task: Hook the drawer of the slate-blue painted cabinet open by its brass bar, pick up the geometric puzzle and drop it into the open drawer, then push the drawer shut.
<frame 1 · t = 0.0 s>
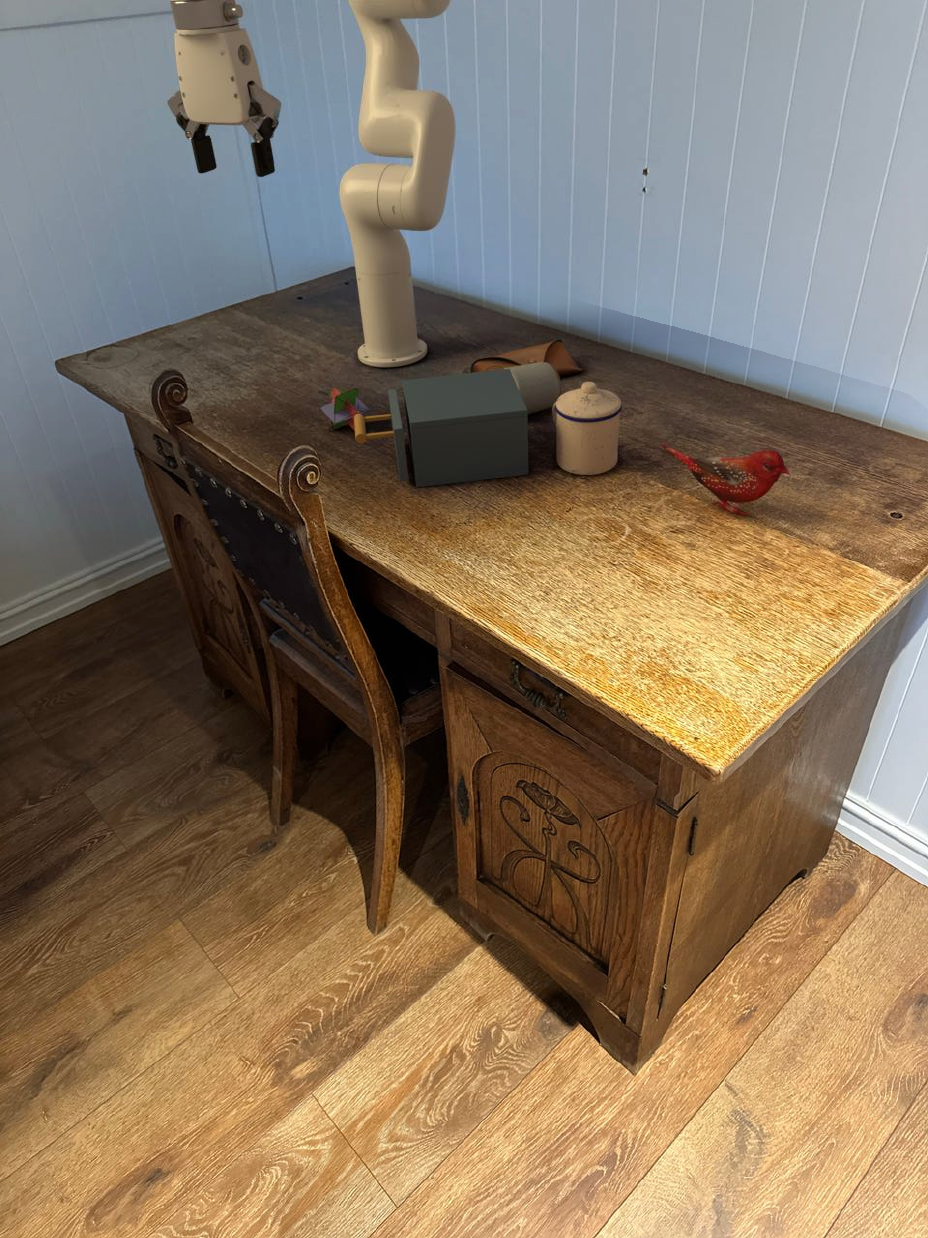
hand: (236, 172, 118), 37 cm above the table, tool pointing down, fingers open, 9 cm apart
geometric puzzle: (347, 429, 141), on the table
cabinet: (466, 457, 131), on the table
ceramic mug: (523, 409, 143), on the table
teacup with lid: (580, 458, 129), on the table
drawer: (426, 430, 128), point 5 cm above the table, slide at 1.0 cm
sunglasses case: (528, 377, 153), on the table
decorative bird figurine: (715, 508, 117), on the table
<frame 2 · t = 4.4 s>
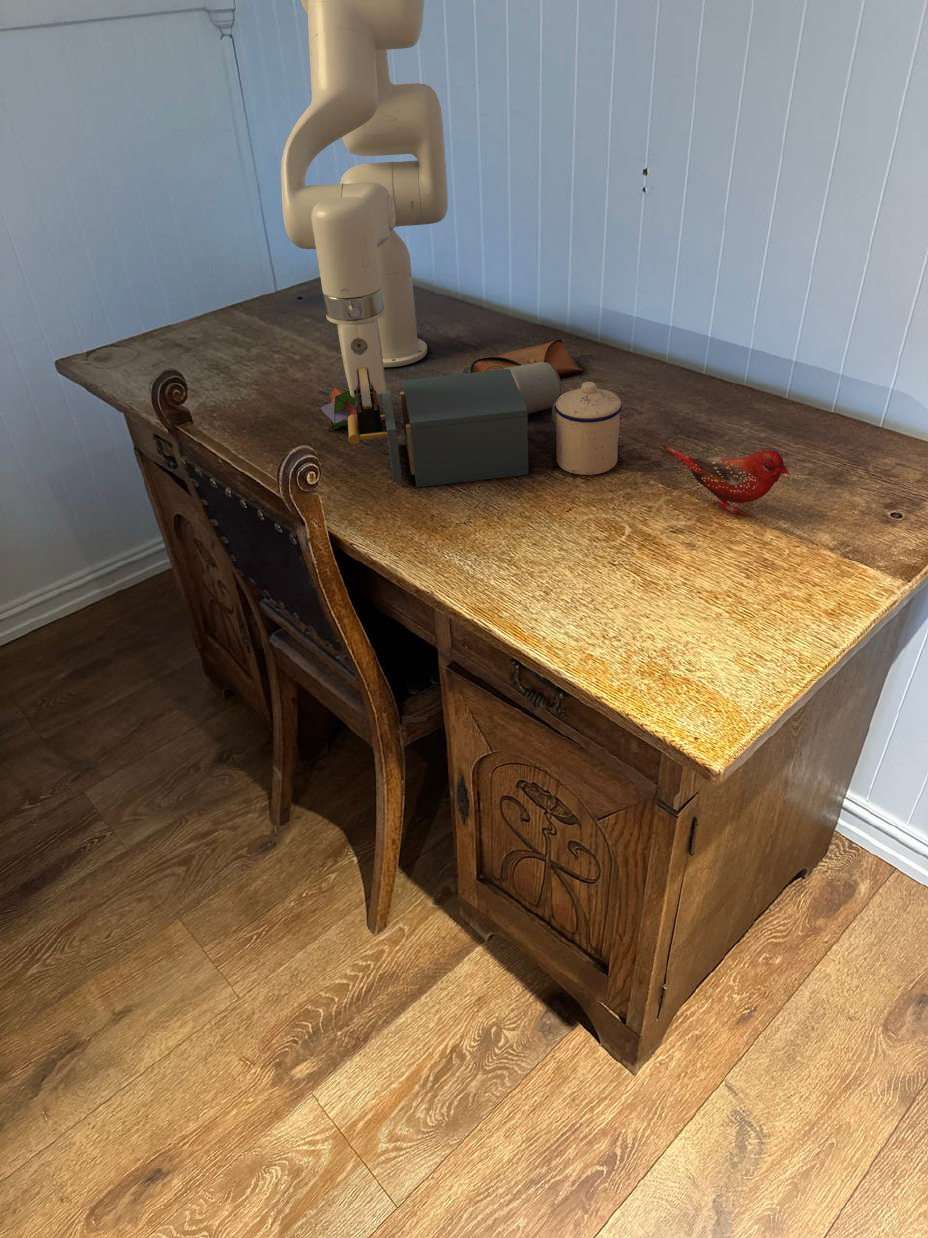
hand: (371, 433, 127), 5 cm above the table, tool pointing down, fingers closed
drawer: (419, 431, 128), point 5 cm above the table, slide at 1.9 cm
everything else where it was.
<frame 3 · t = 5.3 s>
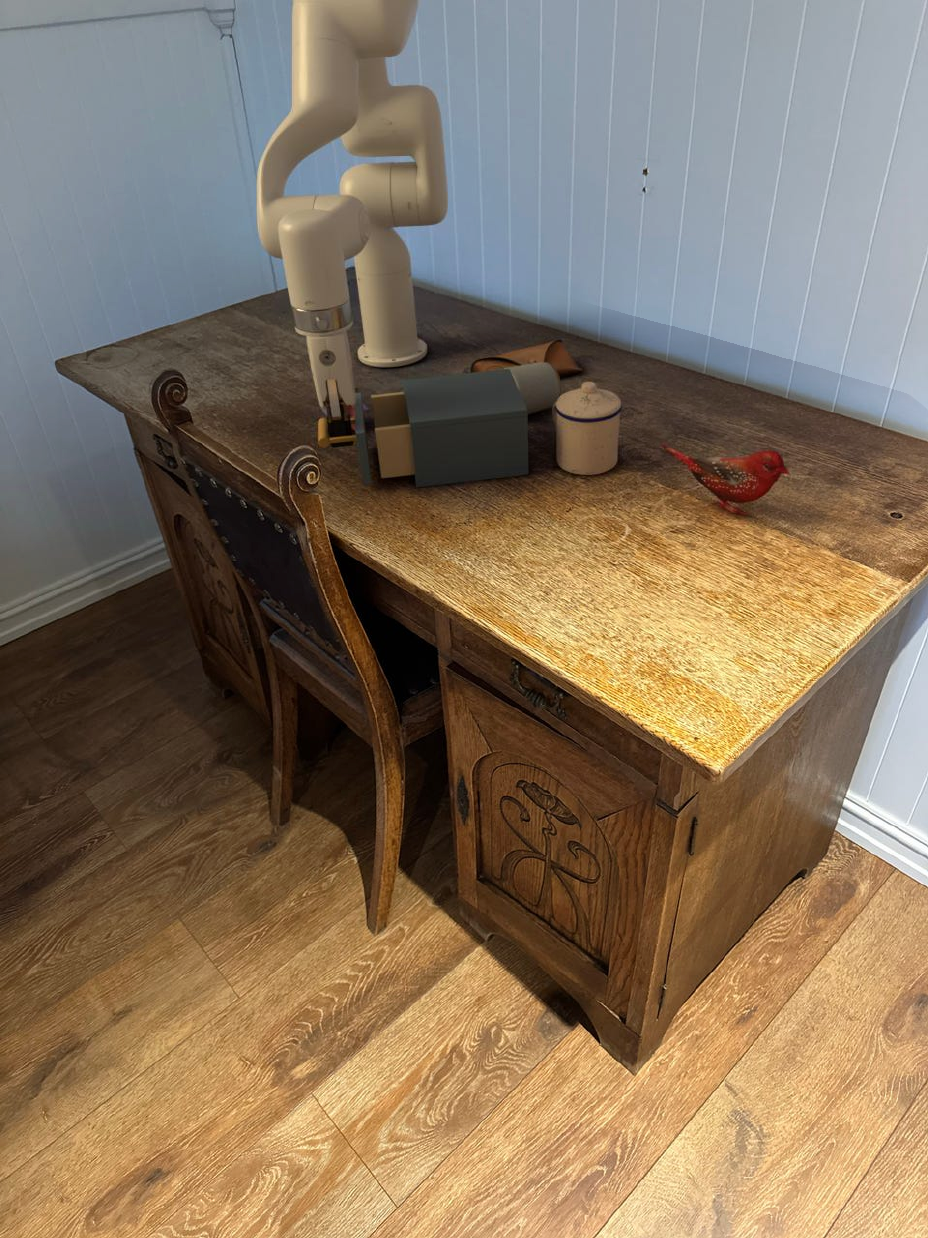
hand: (342, 443, 127), 4 cm above the table, tool pointing down, fingers closed
drawer: (390, 434, 128), point 5 cm above the table, slide at 6.1 cm, touching gripper
everything else where it was.
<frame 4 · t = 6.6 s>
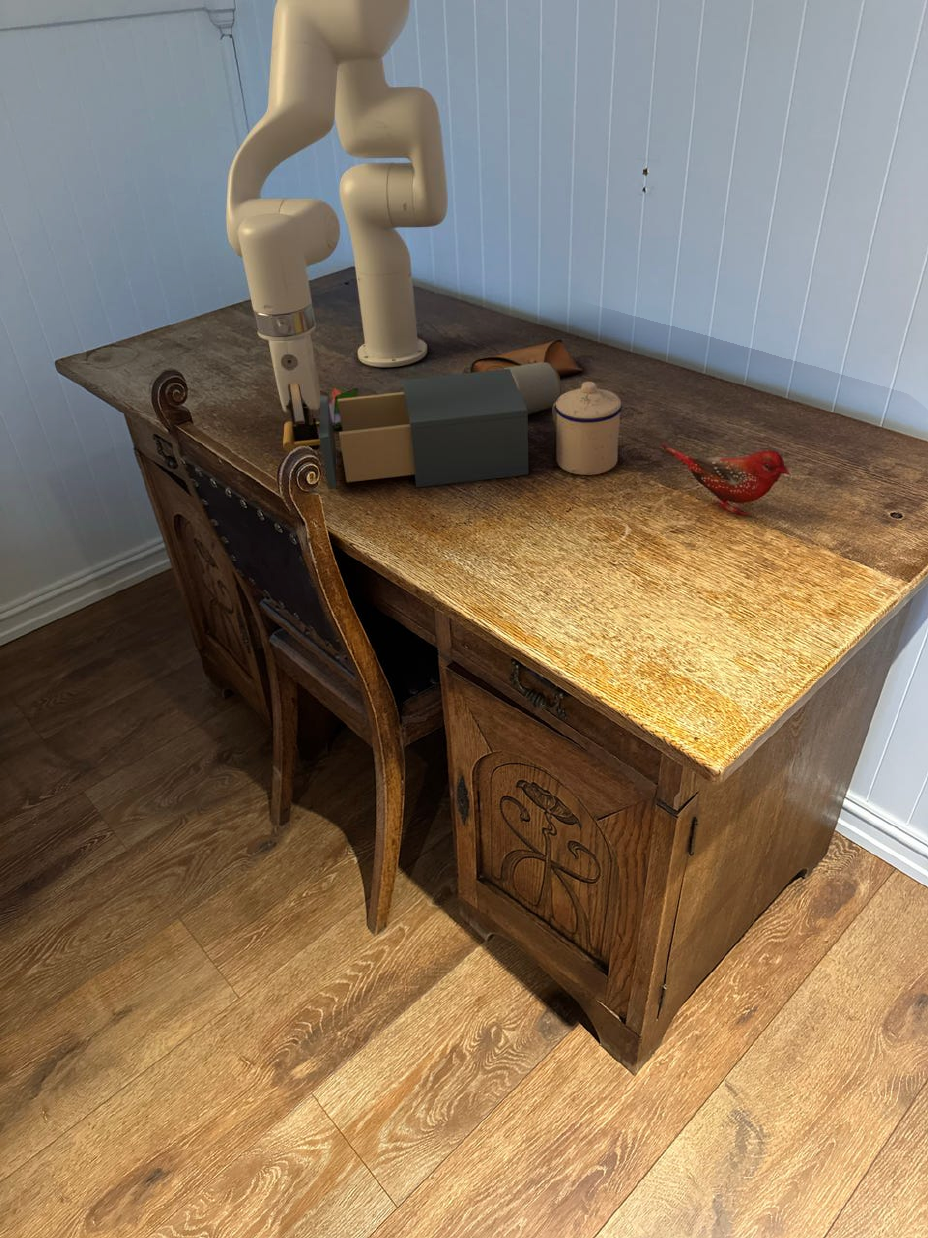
hand: (308, 447, 127), 4 cm above the table, tool pointing down, fingers closed
drawer: (356, 438, 127), point 5 cm above the table, slide at 10.9 cm
everything else where it was.
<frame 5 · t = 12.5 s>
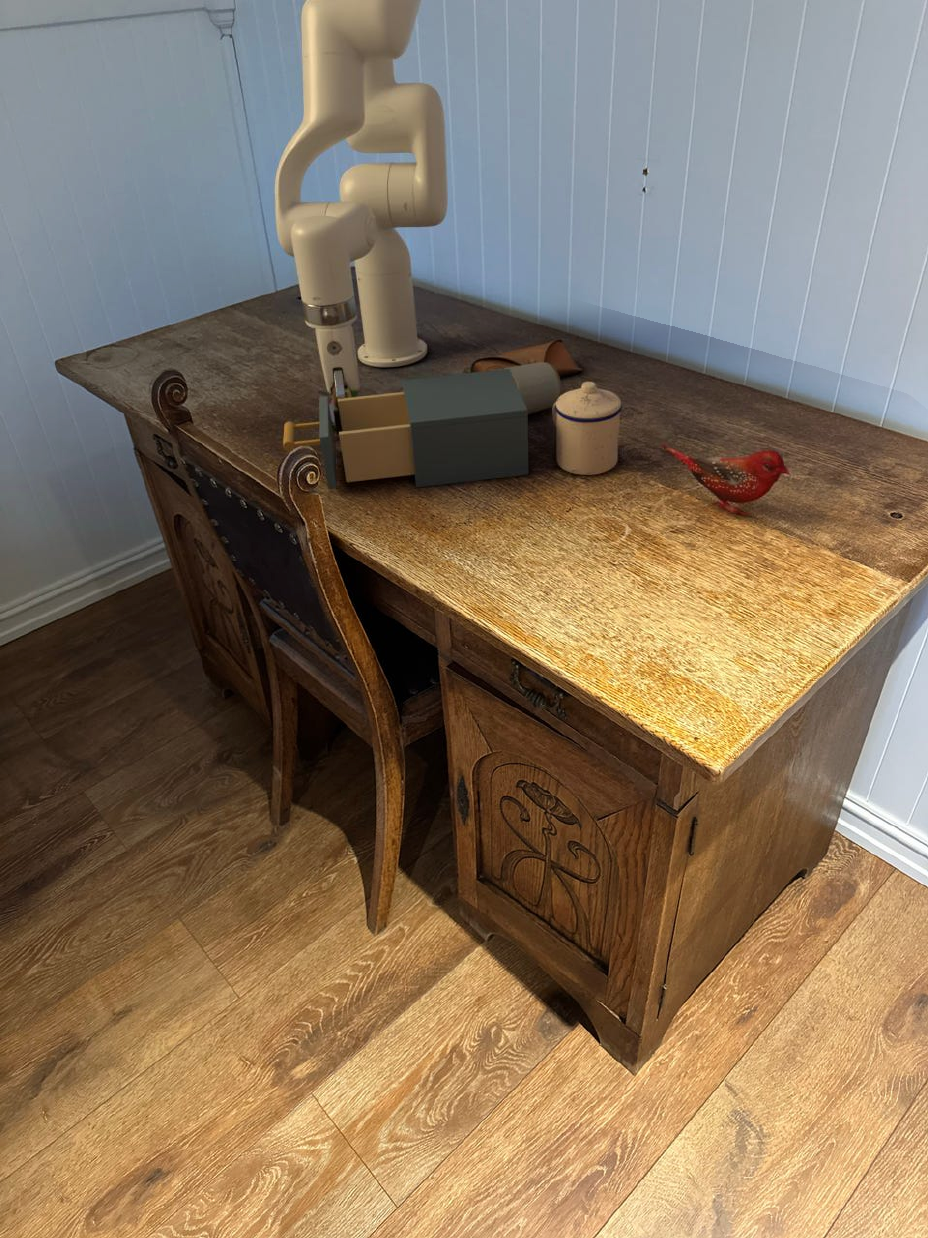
hand: (347, 421, 141), 1 cm above the table, tool pointing down, fingers closed on geometric puzzle, 7 cm apart
geometric puzzle: (347, 429, 141), on the table, touching gripper
everything else where it was.
when the fingers open (9 cm above the table, at t = 19.3 s): geometric puzzle drops 6 cm, resting on drawer.
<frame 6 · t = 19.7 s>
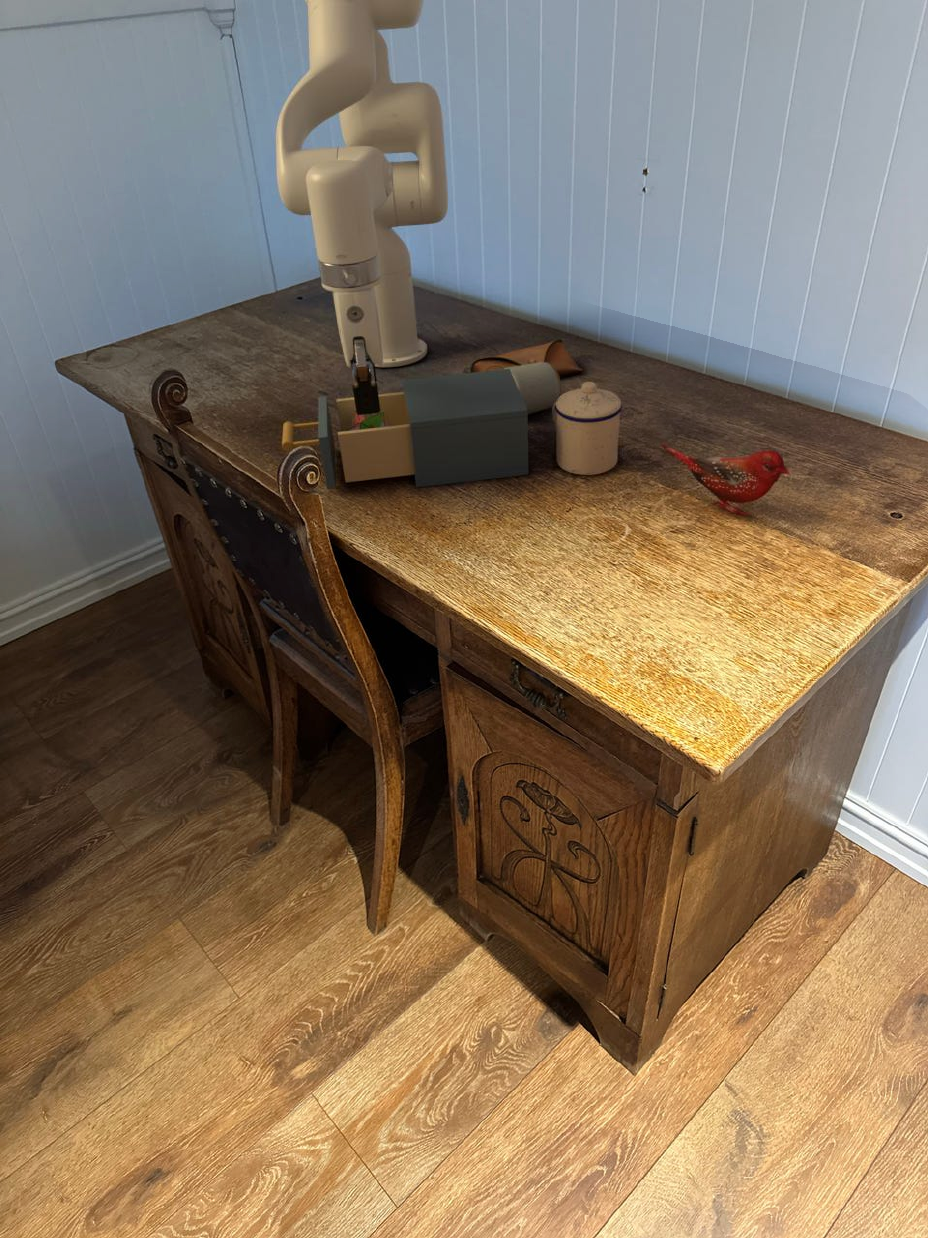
hand: (366, 397, 124), 11 cm above the table, tool pointing down, fingers open, 9 cm apart
geometric puzzle: (372, 456, 129), point 2 cm above the table, touching drawer
drawer: (355, 438, 127), point 5 cm above the table, slide at 11.1 cm, touching geometric puzzle
everything else where it was.
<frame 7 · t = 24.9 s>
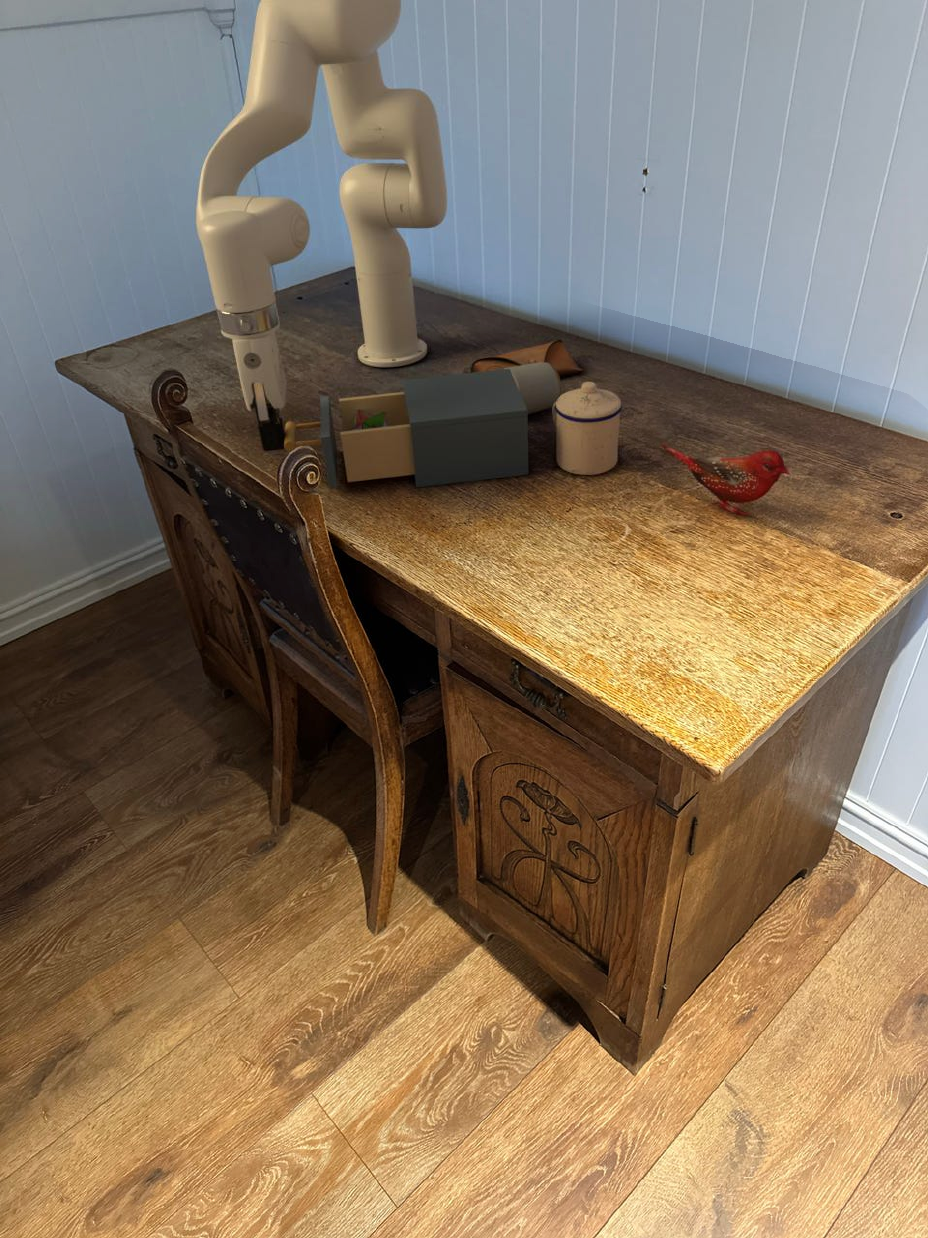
hand: (275, 447, 126), 5 cm above the table, tool pointing down, fingers closed
drawer: (357, 438, 127), point 5 cm above the table, slide at 10.8 cm, touching geometric puzzle, gripper
everything else where it was.
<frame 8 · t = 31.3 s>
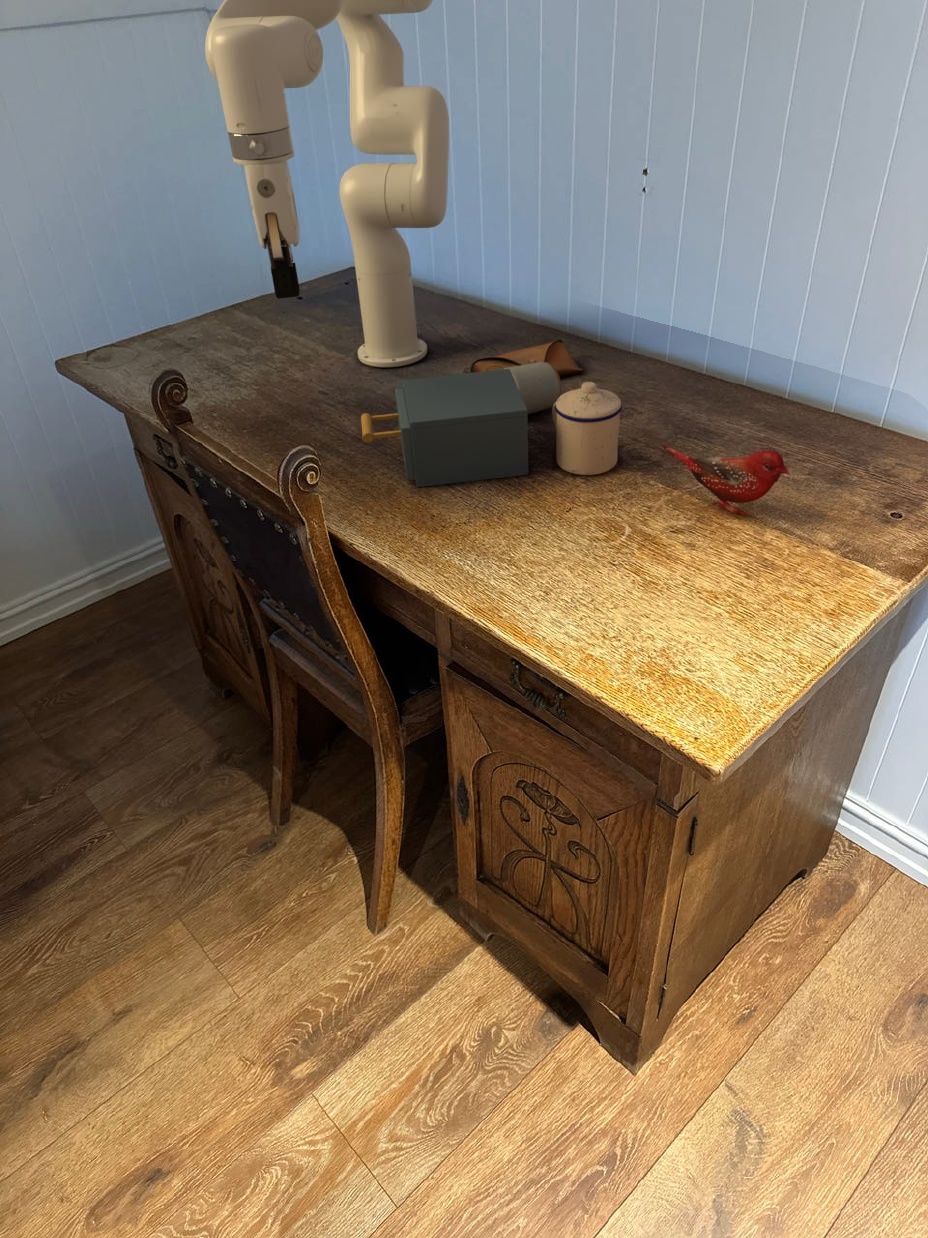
hand: (288, 295, 122), 23 cm above the table, tool pointing down, fingers closed
geometric puzzle: (448, 447, 130), point 2 cm above the table, touching drawer
drawer: (433, 429, 128), point 5 cm above the table, slide at 0.0 cm, touching geometric puzzle
everything else where it was.
at the end: drawer pulled out 11.1 cm at the most during the clip, back to where it started at the end; geometric puzzle inside the target area in the cabinet (2.5 cm from its centre), point 1.9 cm above the cabinet's base; drawer slide at 0.0 cm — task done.
